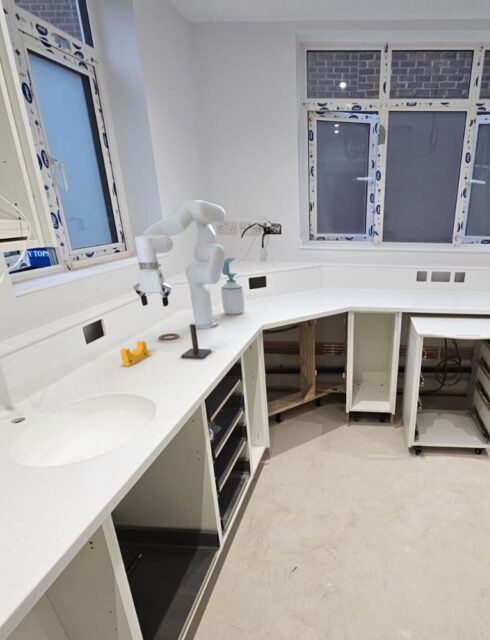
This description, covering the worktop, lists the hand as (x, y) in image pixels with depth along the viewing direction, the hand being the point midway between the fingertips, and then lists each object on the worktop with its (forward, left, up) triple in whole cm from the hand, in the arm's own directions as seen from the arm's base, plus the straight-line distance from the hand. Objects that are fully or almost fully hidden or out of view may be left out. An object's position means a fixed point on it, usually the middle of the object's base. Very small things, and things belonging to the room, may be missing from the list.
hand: (155, 305), depth 180 cm
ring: (-3, +2, -16) cm, 16 cm away
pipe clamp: (+26, +2, -17) cm, 31 cm away
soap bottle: (-58, +14, -17) cm, 62 cm away
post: (+16, +24, -17) cm, 33 cm away
